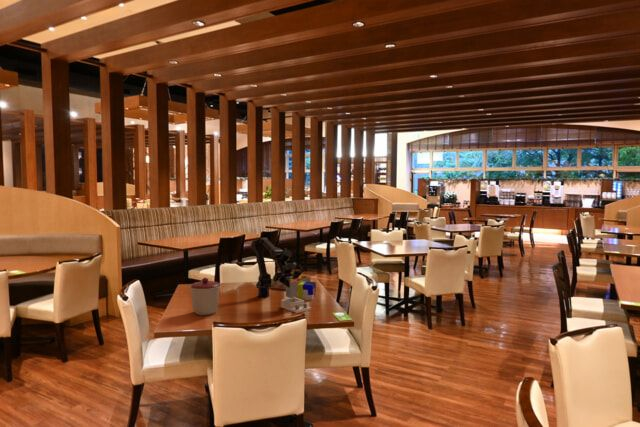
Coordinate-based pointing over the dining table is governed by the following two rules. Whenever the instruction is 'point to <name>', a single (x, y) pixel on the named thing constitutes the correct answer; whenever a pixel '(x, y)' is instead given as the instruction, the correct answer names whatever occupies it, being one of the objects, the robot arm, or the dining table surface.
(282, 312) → the dining table surface
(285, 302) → the chassis
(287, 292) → the grey tall block
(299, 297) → the puzzle toy
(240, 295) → the dining table surface
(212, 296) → the canister
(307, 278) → the bolt corral
